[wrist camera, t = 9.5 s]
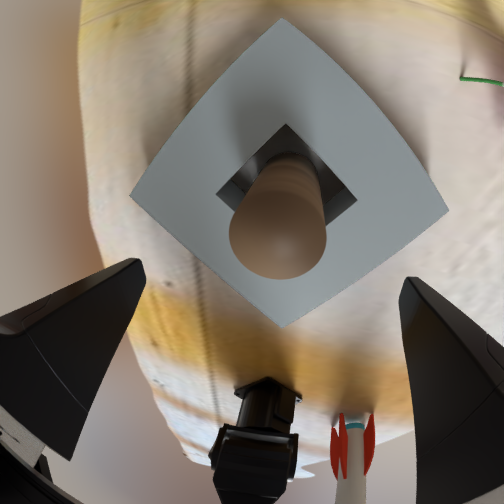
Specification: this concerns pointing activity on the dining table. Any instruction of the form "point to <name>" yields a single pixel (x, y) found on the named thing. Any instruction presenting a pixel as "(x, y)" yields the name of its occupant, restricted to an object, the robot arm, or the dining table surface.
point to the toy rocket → (352, 459)
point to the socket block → (320, 141)
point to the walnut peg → (281, 220)
